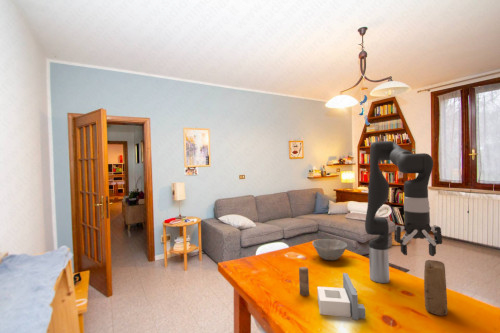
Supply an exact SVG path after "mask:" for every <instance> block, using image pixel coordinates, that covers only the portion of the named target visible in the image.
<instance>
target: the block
mask: <svg viewBox="0 0 500 333" xmlns="http://www.w3.org/2000/svg"><path fill="white" fill-rule="evenodd" d="M445 266H446V265H445V263H444V262H442V261H438V260H434V259H433V260H432V259H428V260H425V262H424V271H423V272H424V274H423V277H424V278H423V280H424V281H423V284H424V286H423V289H424V290H423V291H424V292H423V293H424V306H425V310H426V311H427V312H428V313H431V314H432V315H433V314H434V315H436V316H440V317H441V316H447V315H448V297H447V296H448V295H447V280H446V279H447V278H446V267H445Z"/></svg>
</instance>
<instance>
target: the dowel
mask: <svg viewBox="0 0 500 333" xmlns="http://www.w3.org/2000/svg"><path fill="white" fill-rule="evenodd" d="M298 271H299V272H298V276H299V278H298V280H299V295H300V296H303V297H304V296H305V297H307V296H309V295H310V287H309V286H310V282H309V268H308V267H306V266H301V267H299V268H298Z"/></svg>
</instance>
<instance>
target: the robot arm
mask: <svg viewBox="0 0 500 333" xmlns="http://www.w3.org/2000/svg"><path fill="white" fill-rule="evenodd" d="M380 161H382V162H383V161H390V162H391V163H392V164H393V165H395V166H396V167H397V169H398V171H399V172H400V173H402V174H417V175H416V177H415V178H413V179H408V180H406V181H404V182H403V194H404V197H403V219H404V220H403V221H404V223H403V224H404V225H398V224H395V225H394V232H393V233H394V235H393V236H394V238H393V239H394V241H395V242H396V243H397V244H400V253H402V254H403V255H404V256H408V246H407V244H408V243H409V241H411V240H412V239H415V240H416V239H420V240H424V239H425V240H426V241H427V242H428V255H429V256H431V257H435V255H436V254H437V245H442V244H443V236H442V228H441V227H440V226H438V225H436V224H435V225H434V224H433V225H431V217H430V209H431V208H430V201H429V182H430V178H431V175H432V171H433V170H434V169H433V168H434V159H433V157H432V156H431V155H430V154H429V153H426V152H425V153H424V152H423V153H419V152H418V153H413V151H410V150H407V149H405V148H404V149H403V148H402V147H401V145H398V144H397V143H396V142H394V141H392V140H390V141H389V140H382V141H373V142H372V143H371V145H370V150H369V164H370V165H369V178H368V179H369V182H368V191H367V208H366V214H365V215H366V216H365V221H364V229H365V232H366V234H368V235H371V236H374V235H375V236H377V237H376V238H372V239H370V240H368V253H369V254H368V255H369V258H368V259H369V262H368V263H369V278H370V280H371V281H373V282H375V283H379V284H387V283H390V261H389V260H390V258H389V236H390V234H389V231H390V229H389V221H388V219H387V218H386V217H382V216H381V217H380V216H379V217H377V216H376V215H377V212H378V211H379V209H380V208H382V207H383V205H385V203H386V202H387V200H388V199H389V192H390V184H389V182H388V180H387V178H386V177H385V175H383V173H382V171H381V169H380V165H379V162H380ZM403 230H404V231H405V233H404V234H403V235H402V232H403ZM430 232H432V233H433V237H434V239H433V237H432V236H431V235H430ZM401 236H402V237H401Z"/></svg>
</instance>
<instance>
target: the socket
mask: <svg viewBox="0 0 500 333" xmlns="http://www.w3.org/2000/svg"><path fill="white" fill-rule="evenodd" d="M317 303H318V309H319V314H320V315H325V316H338V317H349V318H350V317H351V318H352V316H351V312H350V301H349V298H348V296H347V293H346V291H345V288H343V287H332V286H331V287H330V286H329V287H328V286H317Z"/></svg>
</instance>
